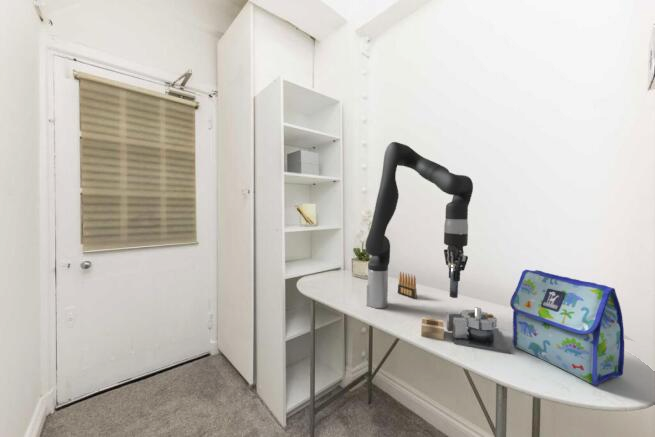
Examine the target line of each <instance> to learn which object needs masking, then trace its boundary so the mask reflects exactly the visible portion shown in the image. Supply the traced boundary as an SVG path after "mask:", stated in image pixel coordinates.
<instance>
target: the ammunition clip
mask: <svg viewBox="0 0 655 437" xmlns="http://www.w3.org/2000/svg"><path fill="white" fill-rule="evenodd" d="M398 274H399V276H398V277H399V278H398V285H397V294H398V293H399V294H398V295H401V296H404V297H407V298H409V299H412V300H416V299H417V297H418V296H417V293H418V292H417V281H416V280H417V279H416V276H415V274H414V275H413V274H410V273H408V274H407V273H405V272H402V271H400V272H399V273H398Z"/></svg>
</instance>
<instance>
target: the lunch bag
mask: <svg viewBox="0 0 655 437" xmlns="http://www.w3.org/2000/svg"><path fill="white" fill-rule="evenodd" d="M509 301H510V302H509V303H510V304H509V305H510V307H511V309H512V310H513V313H512V333H513V334H512V346H513V347H514V348H517V349H519V350H520V351H523V352H526V353H528V354H529V355H532V356H535V357H537V358H539V359H541V360H543V361H546V362H548V363H549V364H551V365H554V366H555V367H558V368H559V369H562V370H563V371H566V372H568V373H570V374H572V375H574V376H575V377H578V378H580V379H581V380H583V381H585V382H587V383H589V384H591V385H594V386H596V387H599V384H601V383H603V382H605V381H606V380H607V381H608V379H610V378H619V377H622V376H623V374H624V363H625V362H624V361H625V335H624V334H625V333H624V321H623V319H624V318H623V313H622V312H623V311H622V308H621V305H620V302H619V298H618V295H617V292H616V289H615V288H614V287H611V286H607V285H606V284H605V285H604V284H598V283H596V282H591V281H586V280H585V281H583V280H580V279H576V278H575V279H574V278H571V277H567V276H561V275H558V274H553V273H549V272H545V271H541V270H538V269H537V270H536V269H535V270H531V269H524V270H522V272H521V275H520V278H519V280H518V283H517V285H516V288H515V290H514V291H513V294H512V296H511V298H510V300H509Z"/></svg>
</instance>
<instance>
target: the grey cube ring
mask: <svg viewBox="0 0 655 437" xmlns="http://www.w3.org/2000/svg"><path fill="white" fill-rule="evenodd" d="M497 320H498V319H497V317H495V316H494V314H492V313H488V312H485V311H482V310H481V320H479V319H475V309H463V310H462V311H460V312H458V311H456V312H455V311H454V312H453V311H447V312H446V330H447V331H448V332H452V331H453V333H452V337H453V336H454V337H455V338H467V326H469V327H472V328H475V329H481V330H492V329H495V328H497V323H498V322H497Z"/></svg>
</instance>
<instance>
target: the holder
mask: <svg viewBox="0 0 655 437" xmlns="http://www.w3.org/2000/svg"><path fill="white" fill-rule="evenodd" d="M420 325H421V331H420V332H421V333H420V334H421V335H420V336H421V337H423V338H429V339H435V340H441V341H444V340H445V339H444V338H445V326H444V320H443V319H437V318H429V317H422V316H421V324H420Z"/></svg>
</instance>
